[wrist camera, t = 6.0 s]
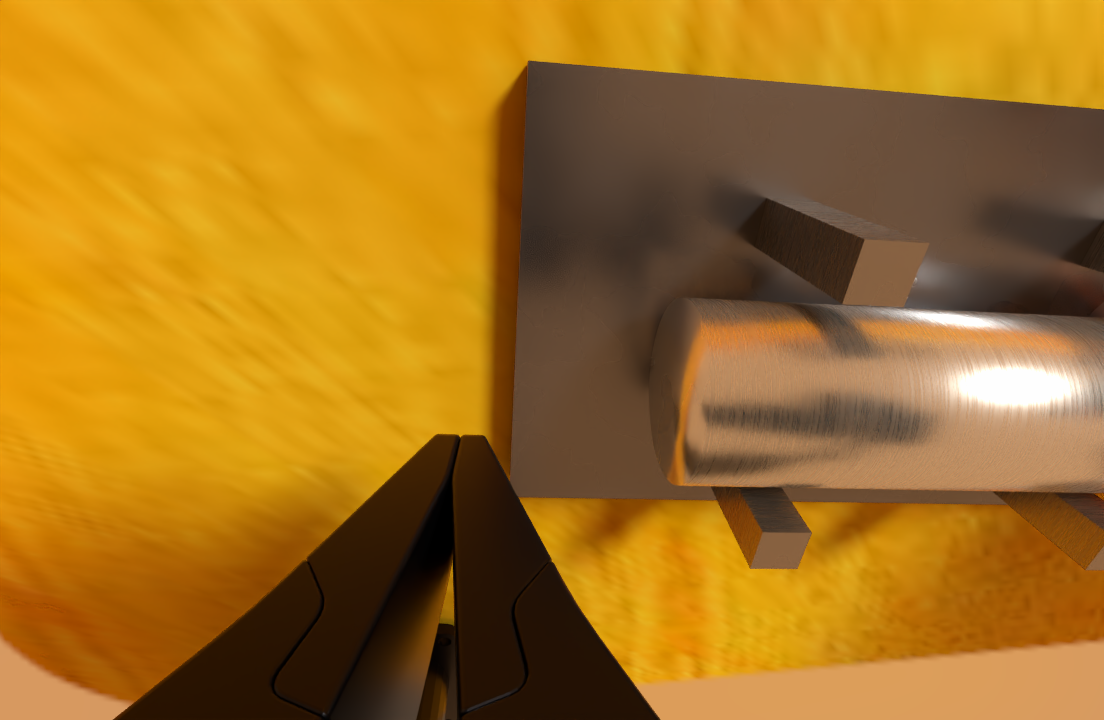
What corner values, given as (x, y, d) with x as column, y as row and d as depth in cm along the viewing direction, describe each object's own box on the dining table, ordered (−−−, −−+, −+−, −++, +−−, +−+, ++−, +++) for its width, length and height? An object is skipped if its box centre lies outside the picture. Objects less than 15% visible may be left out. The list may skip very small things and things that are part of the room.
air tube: (1127, 427, 17) (1316, 543, 13) (640, 413, 15) (681, 537, 11) (1233, 296, 14) (1504, 387, 10) (669, 265, 13) (733, 357, 9)
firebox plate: (1057, 486, 19) (1223, 606, 14) (510, 476, 17) (506, 608, 13) (1295, 128, 13) (1679, 145, 9) (527, 62, 12) (532, 44, 7)
